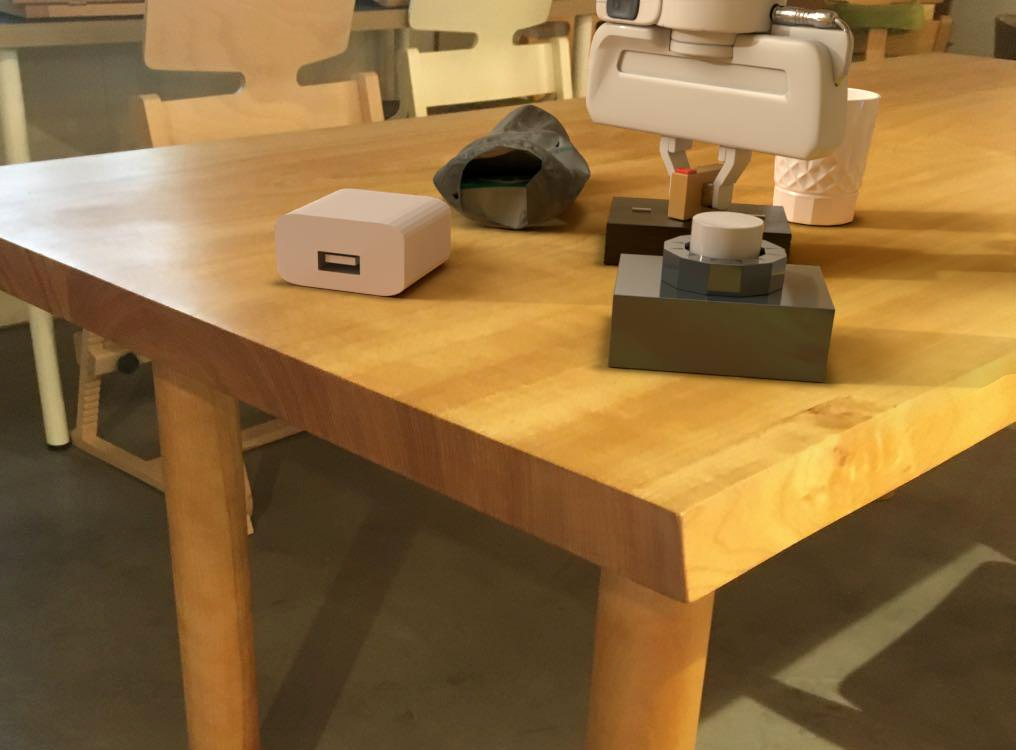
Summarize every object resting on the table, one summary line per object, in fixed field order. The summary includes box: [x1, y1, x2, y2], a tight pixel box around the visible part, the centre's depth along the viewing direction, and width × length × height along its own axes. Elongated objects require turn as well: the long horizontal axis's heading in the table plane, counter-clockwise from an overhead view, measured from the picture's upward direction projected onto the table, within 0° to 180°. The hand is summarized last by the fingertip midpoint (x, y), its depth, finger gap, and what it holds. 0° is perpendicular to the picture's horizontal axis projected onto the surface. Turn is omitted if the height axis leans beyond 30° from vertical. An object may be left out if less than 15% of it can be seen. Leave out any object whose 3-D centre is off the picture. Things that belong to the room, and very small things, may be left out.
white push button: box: [689, 212, 764, 260], centre depth 71 cm, size 4×4×2 cm
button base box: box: [607, 235, 836, 383], centre depth 72 cm, size 12×9×6 cm
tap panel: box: [603, 196, 793, 266], centre depth 93 cm, size 13×10×3 cm
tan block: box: [668, 162, 728, 220], centre depth 91 cm, size 6×2×3 cm, turn 135°
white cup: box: [772, 87, 882, 226], centre depth 103 cm, size 8×8×10 cm
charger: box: [274, 188, 452, 297], centre depth 88 cm, size 5×9×15 cm
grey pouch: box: [432, 103, 592, 230], centre depth 107 cm, size 13×7×25 cm
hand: (699, 204), depth 92 cm, fingers closed on tan block, 2 cm apart
